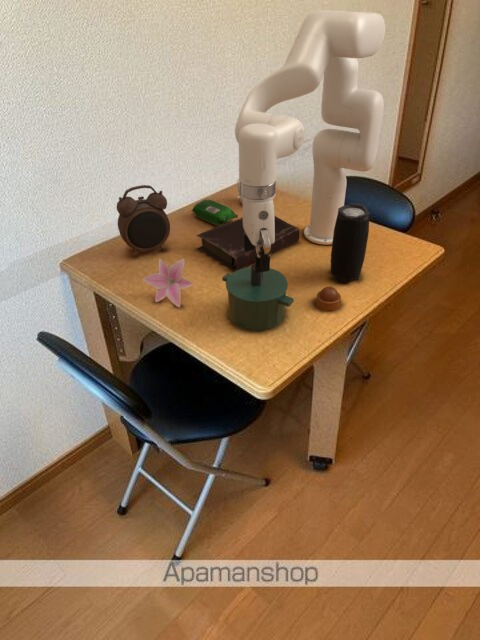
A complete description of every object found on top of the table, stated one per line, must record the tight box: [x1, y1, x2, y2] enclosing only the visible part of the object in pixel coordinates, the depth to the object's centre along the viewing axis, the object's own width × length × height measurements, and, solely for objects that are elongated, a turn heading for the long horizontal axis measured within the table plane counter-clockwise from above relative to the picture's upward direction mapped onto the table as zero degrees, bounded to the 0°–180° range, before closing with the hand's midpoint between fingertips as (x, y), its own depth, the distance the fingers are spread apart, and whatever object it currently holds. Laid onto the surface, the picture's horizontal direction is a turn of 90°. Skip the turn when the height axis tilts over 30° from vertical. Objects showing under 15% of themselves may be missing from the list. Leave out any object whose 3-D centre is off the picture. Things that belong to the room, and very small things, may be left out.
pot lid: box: [225, 263, 289, 303], centre depth 116 cm, size 15×15×6 cm
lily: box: [142, 258, 194, 308], centre depth 127 cm, size 12×12×10 cm
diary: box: [196, 215, 301, 272], centre depth 147 cm, size 19×25×5 cm
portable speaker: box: [329, 202, 371, 284], centre depth 129 cm, size 9×9×20 cm
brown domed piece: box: [315, 286, 342, 312], centre depth 124 cm, size 6×6×5 cm
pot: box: [221, 272, 295, 332], centre depth 120 cm, size 14×19×8 cm
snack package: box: [191, 198, 239, 227], centre depth 160 cm, size 7×16×5 cm, turn 46°
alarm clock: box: [116, 184, 171, 258], centre depth 141 cm, size 15×7×20 cm, turn 114°
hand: (256, 260), depth 113 cm, fingers open, 9 cm apart
